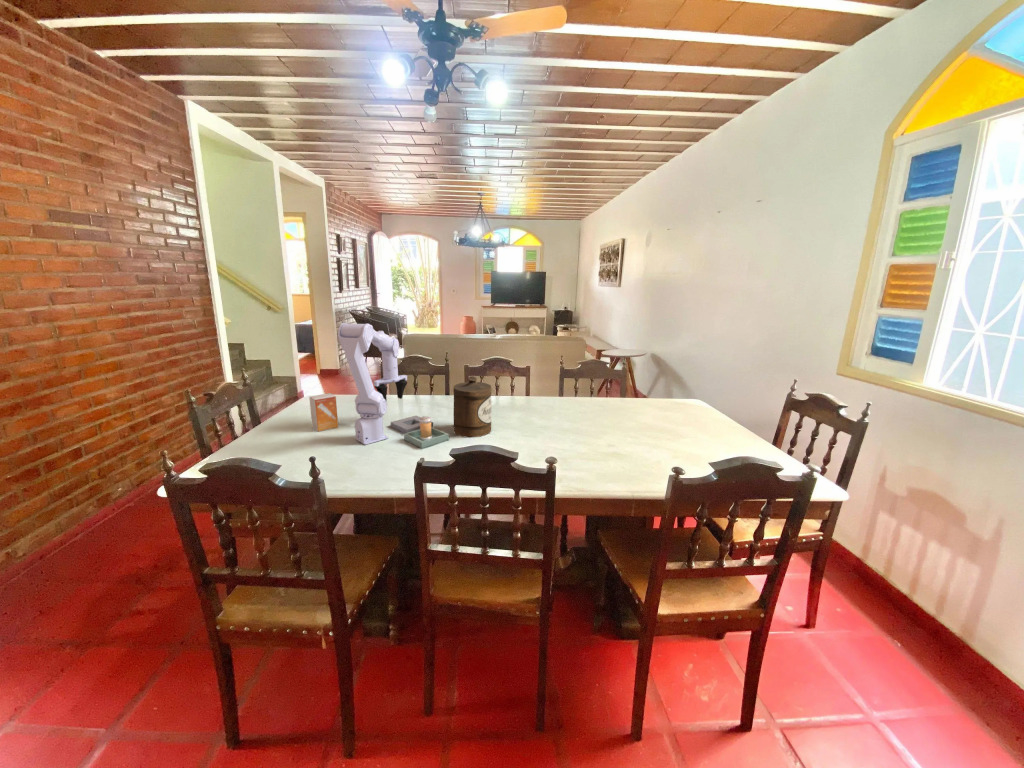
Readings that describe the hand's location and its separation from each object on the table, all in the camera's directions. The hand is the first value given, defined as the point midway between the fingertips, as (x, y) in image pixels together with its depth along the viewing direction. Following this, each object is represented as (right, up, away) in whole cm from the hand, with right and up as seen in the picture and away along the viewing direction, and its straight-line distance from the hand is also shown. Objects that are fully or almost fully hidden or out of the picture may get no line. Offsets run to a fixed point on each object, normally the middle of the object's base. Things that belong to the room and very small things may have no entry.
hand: (392, 400), depth 167 cm
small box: (-25, -11, -3) cm, 28 cm away
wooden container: (+33, -12, -4) cm, 36 cm away
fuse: (+17, -14, -15) cm, 27 cm away
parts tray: (+17, -14, -15) cm, 27 cm away
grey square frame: (+8, -11, -2) cm, 14 cm away
